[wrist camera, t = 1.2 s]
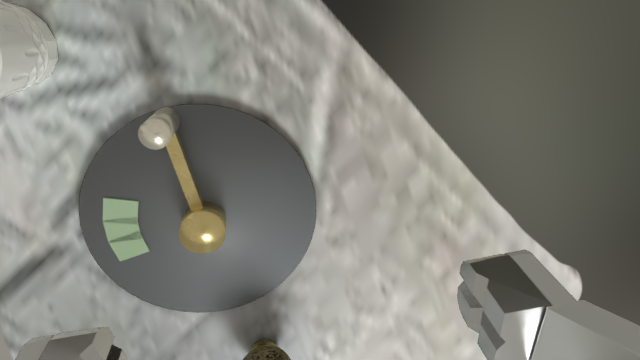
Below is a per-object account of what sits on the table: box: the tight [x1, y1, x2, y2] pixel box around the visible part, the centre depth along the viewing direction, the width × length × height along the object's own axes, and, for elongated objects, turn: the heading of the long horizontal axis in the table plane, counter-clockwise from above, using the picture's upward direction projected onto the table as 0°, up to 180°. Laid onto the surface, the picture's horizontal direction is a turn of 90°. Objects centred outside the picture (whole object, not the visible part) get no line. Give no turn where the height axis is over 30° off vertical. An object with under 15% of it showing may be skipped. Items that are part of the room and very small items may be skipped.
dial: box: [79, 104, 316, 312], centre depth 41 cm, size 24×24×1 cm
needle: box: [138, 107, 226, 254], centre depth 35 cm, size 14×4×6 cm, turn 12°
